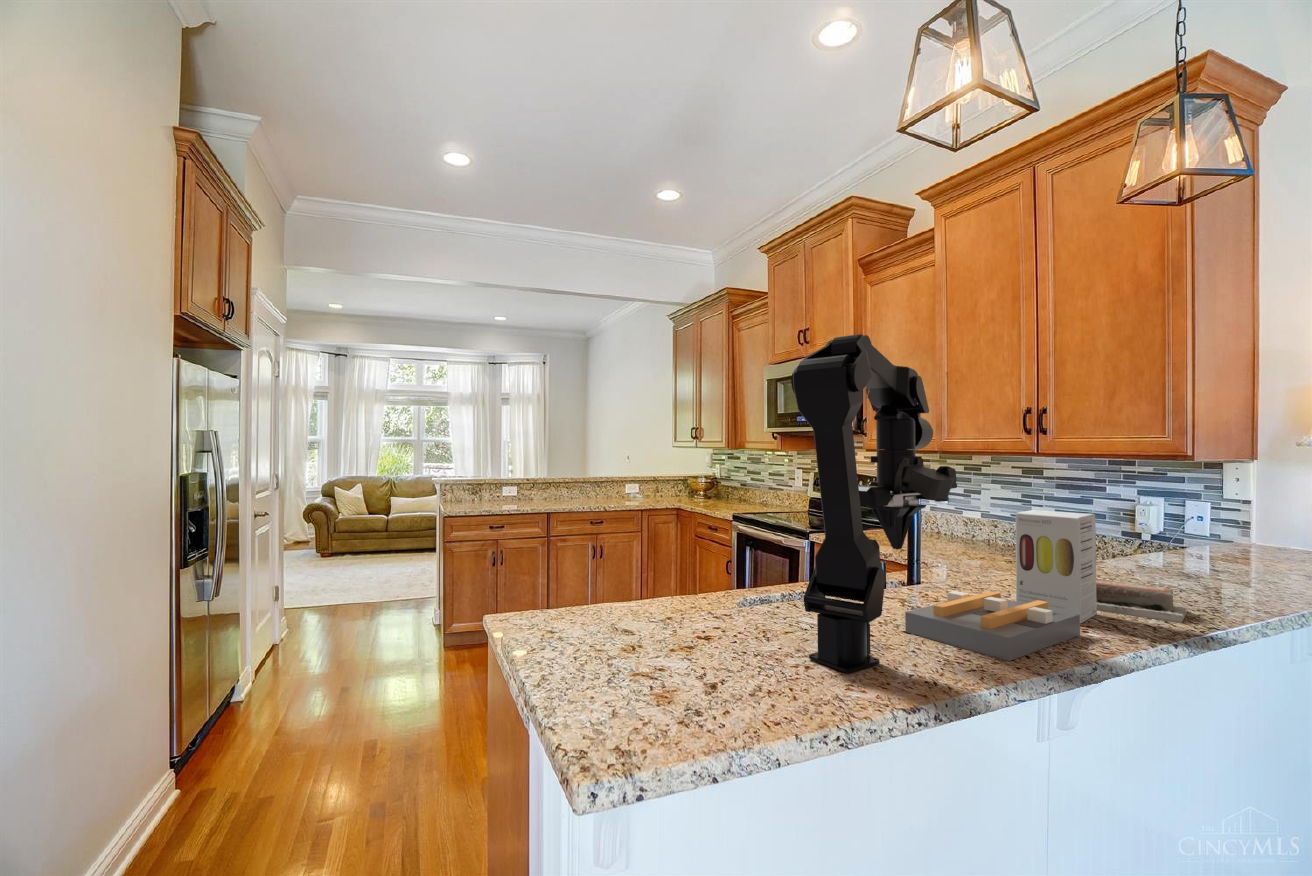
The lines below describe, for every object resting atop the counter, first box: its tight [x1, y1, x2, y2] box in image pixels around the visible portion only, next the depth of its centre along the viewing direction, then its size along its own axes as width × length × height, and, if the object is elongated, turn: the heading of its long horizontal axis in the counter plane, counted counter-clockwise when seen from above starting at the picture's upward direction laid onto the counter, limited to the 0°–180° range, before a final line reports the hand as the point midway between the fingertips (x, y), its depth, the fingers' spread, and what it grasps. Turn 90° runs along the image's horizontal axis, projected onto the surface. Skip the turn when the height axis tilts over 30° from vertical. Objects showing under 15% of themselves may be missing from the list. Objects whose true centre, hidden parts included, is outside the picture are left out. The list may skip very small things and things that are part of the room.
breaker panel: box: [904, 590, 1081, 662], centre depth 88 cm, size 20×15×5 cm
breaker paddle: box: [984, 597, 1008, 612], centre depth 89 cm, size 2×2×2 cm
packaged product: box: [1096, 578, 1188, 624], centre depth 103 cm, size 18×5×10 cm
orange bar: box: [981, 600, 1048, 629], centre depth 85 cm, size 16×1×1 cm, turn 122°
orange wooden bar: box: [932, 591, 1002, 617], centre depth 91 cm, size 16×1×1 cm, turn 122°
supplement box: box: [1015, 509, 1098, 624], centre depth 99 cm, size 10×9×17 cm
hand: (897, 549), depth 93 cm, fingers closed
